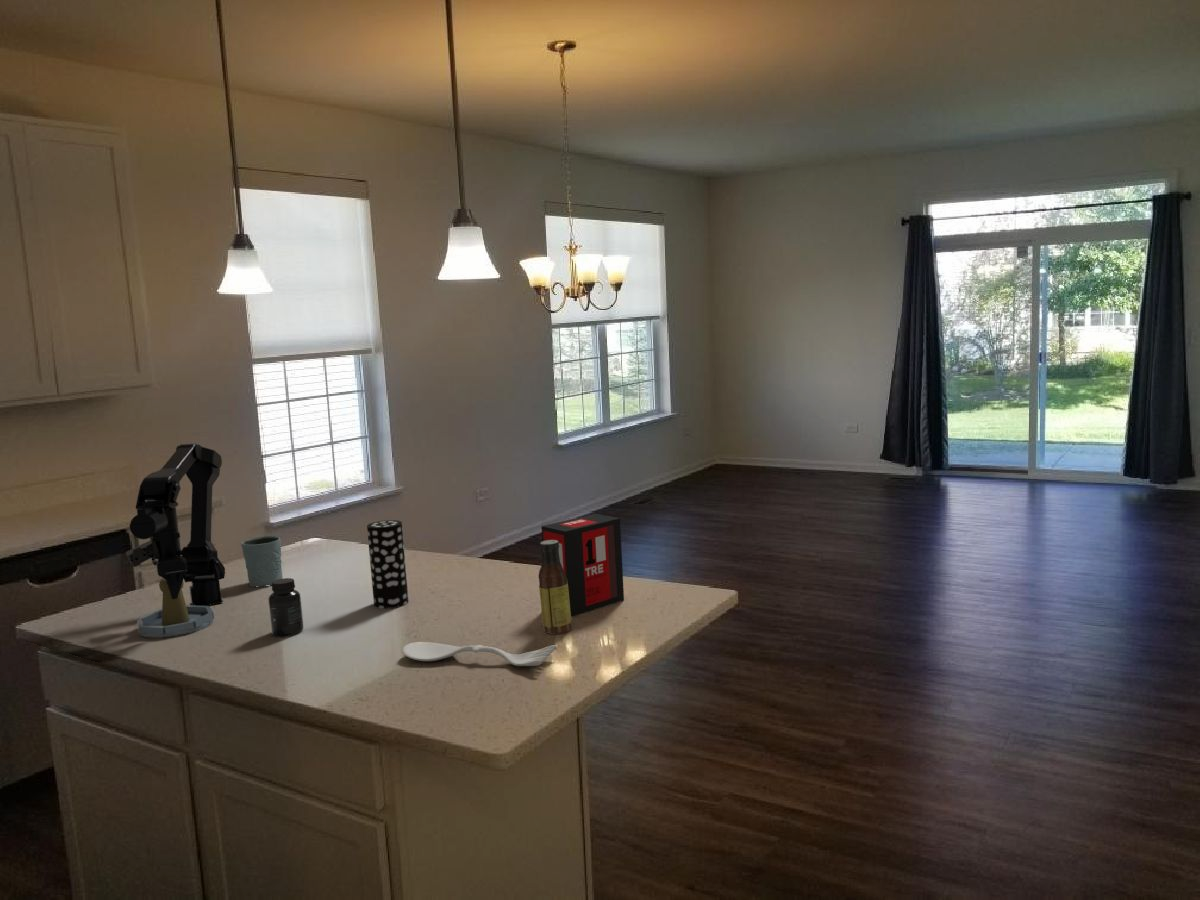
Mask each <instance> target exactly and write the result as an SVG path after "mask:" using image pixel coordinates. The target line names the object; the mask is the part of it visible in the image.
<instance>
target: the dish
mask: <svg viewBox="0 0 1200 900" xmlns="http://www.w3.org/2000/svg"><path fill="white" fill-rule="evenodd" d="M186 607H187V611H188V615H189V619H190V621H189V622H185V623H180V624H175V625H169V626H162V609H159V610H155V611H152V612H151V613H148V614H146V615H144V616H142V617H139V618H137V619H136V624H137V629H138V630H137V631H138V635H139V636H141V637H143V636H144V638H148V637H151V638H150V639H163V638H162V637H166V638H170V637H169V636H174V637H179V636H178V635H180V636H183V635H182V634H184V635H188V634H187V633H189V634H191V633H190V632H192V633H195V632H194V631H196V632H198V631H200V629H201V630H203V629H205V627H206V628H207V627H209V626H210V625H212V623H213V622H214V619H215V617H214V611H213V609H212V608H211V605H207V606H194V604H191V605H186Z"/></svg>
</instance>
